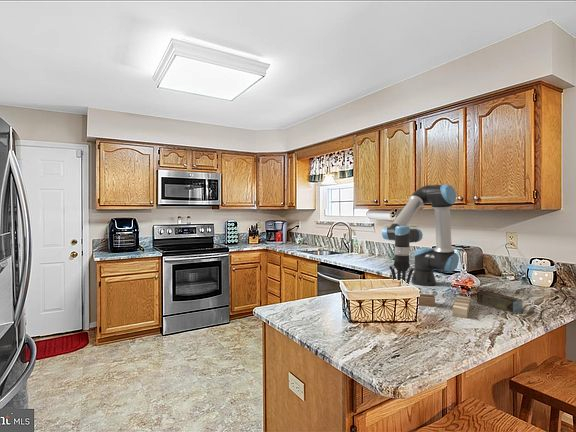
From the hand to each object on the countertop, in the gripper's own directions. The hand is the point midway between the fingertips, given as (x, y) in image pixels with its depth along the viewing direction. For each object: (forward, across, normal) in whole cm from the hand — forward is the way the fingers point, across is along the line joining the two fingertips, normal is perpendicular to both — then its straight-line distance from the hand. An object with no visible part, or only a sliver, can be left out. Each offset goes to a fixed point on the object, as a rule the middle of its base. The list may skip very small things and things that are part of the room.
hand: (401, 297), depth 182 cm
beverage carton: (+2, +45, +16) cm, 48 cm away
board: (+1, +30, -1) cm, 30 cm away
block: (+2, +12, 0) cm, 12 cm away
